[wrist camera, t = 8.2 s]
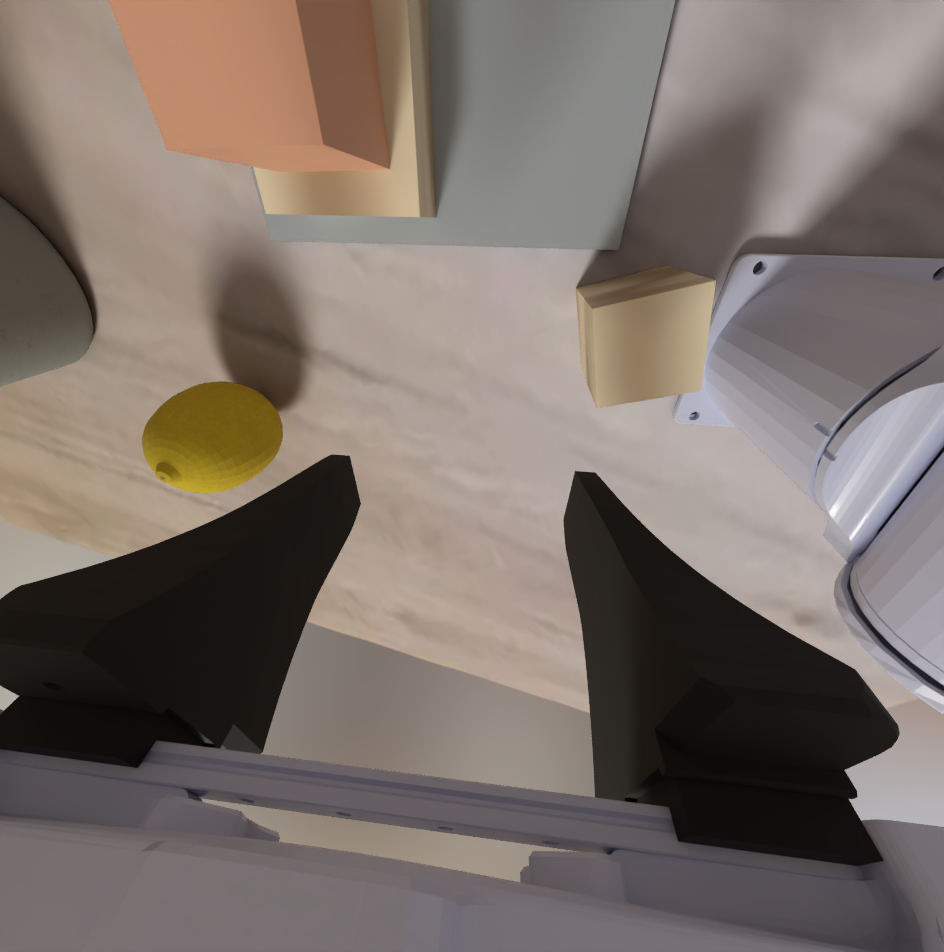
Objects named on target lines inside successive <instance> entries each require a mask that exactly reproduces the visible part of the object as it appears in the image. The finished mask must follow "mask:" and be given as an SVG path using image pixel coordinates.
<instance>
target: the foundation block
mask: <svg viewBox="0 0 944 952" xmlns="http://www.w3.org/2000/svg"><path fill="white" fill-rule="evenodd" d="M371 7H372V16H373V25H374V34H375V42H376V51H377V60H378V69H379V78H380V86H381V95H382V104H383V113H384V122H385V130H386V139H387V148H388V157H389V166H390V169H388V170H352V171H317V172H277V171H272V170H267V169H261V168H256V167H253V168H254V172H255V176H256V179H257V183H258V187H259V190H260V194H261V198H262V201H263V205H264V209H265V212H266V214H287V215H335V216H383V217H432V218H436V194H435V167H434V139H433V111H432V84H431V56H430V28H429V1H428V0H371Z"/></svg>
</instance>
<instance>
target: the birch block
mask: <svg viewBox="0 0 944 952" xmlns="http://www.w3.org/2000/svg"><path fill="white" fill-rule="evenodd" d="M715 284H716V280H713V279H710V278H706V277H703V276H700V275H697V274H694V273H691V272H688V271H684V270H681V269H678V268H675V267H672V266H669V265H666V266H662V267H658V268H654V269H650V270H646V271H641V272H637V273H633V274H629V275H625V276H621V277H617V278H613V279H609V280H605V281H601V282H597V283H593V284H589V285H585V286H581V287H577V288H576V297H577V312H578V327H579V342H580V357H581V369H582V372H583V374H584V377H585V379H586V382H587V385H588V387H589V390H590V392H591V395H592V397H593V400H594V403H595V405H596V408H600V407H606V406H613V405H619V404H625V403H631V402H637V401H643V400H649V399H655V398H661V397H667V396H673V395H680V394H686V393H692V392H698V391H701V387H702V380H703V372H704V365H705V358H706V350H707V343H708V336H709V328H710V321H711V313H712V306H713V299H714V291H715Z"/></svg>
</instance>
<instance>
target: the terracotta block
mask: <svg viewBox="0 0 944 952" xmlns="http://www.w3.org/2000/svg"><path fill="white" fill-rule="evenodd" d="M108 1H109V3H110V6H111V8H112V11H113V13H114V16H115V18H116V21H117V23H118V26H119V29H120V31H121V34H122V36H123V39H124V41H125V44H126V46H127V49H128V52H129V54H130V57H131V59H132V62H133V64H134V67H135V69H136V72H137V74H138V77H139V80H140V82H141V85H142V87H143V90H144V92H145V95H146V97H147V100H148V103H149V105H150V108H151V110H152V113H153V115H154V118H155V120H156V123H157V126H158V128H159V131H160V133H161V136H162V138H163V141H164V143H165V146H166V148H167V150H169V151H174V152H179V153H184V154H190V155H195V156H200V157H205V158H210V159H215V160H220V161H225V162H231V163H236V164H241V165H246V166H251V167H256V168H261V169H267V170H272V171H277V172H317V171H352V170H388V169H390V166H389V157H388V148H387V139H386V130H385V122H384V113H383V104H382V95H381V86H380V78H379V69H378V60H377V51H376V42H375V34H374V25H373V16H372V7H371V0H108Z"/></svg>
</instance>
